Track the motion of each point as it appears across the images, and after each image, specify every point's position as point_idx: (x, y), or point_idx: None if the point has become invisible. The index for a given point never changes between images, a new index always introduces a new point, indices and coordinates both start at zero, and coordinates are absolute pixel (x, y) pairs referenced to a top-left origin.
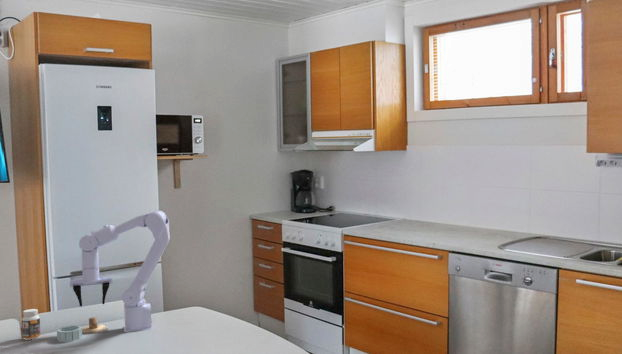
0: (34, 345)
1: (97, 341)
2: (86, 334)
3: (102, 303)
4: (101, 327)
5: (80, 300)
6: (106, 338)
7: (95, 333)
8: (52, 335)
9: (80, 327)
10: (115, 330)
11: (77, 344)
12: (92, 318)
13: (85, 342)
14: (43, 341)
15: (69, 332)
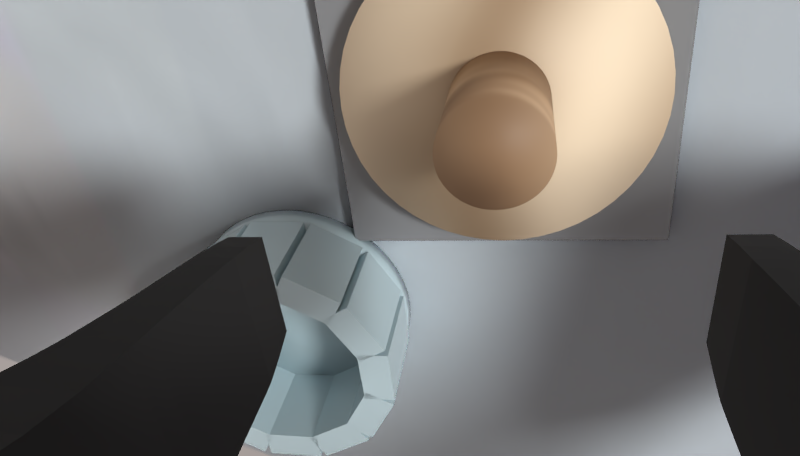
0: (71, 332)
1: (548, 433)
2: (436, 238)
3: (712, 361)
4: (604, 122)
5: (224, 453)
6: (629, 392)
7: (528, 239)
8: (73, 83)
9: (376, 377)
10: (770, 157)
11: (397, 436)
12: (487, 159)
13: (453, 418)
14: (88, 258)
15: (303, 448)
